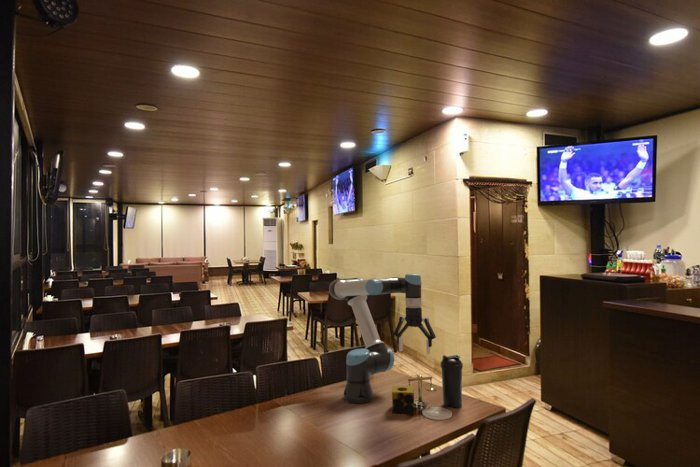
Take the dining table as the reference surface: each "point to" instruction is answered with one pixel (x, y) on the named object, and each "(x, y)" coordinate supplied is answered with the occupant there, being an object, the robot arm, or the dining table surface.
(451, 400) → the water bottle
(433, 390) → the balance
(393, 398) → the candle
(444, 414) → the dish
